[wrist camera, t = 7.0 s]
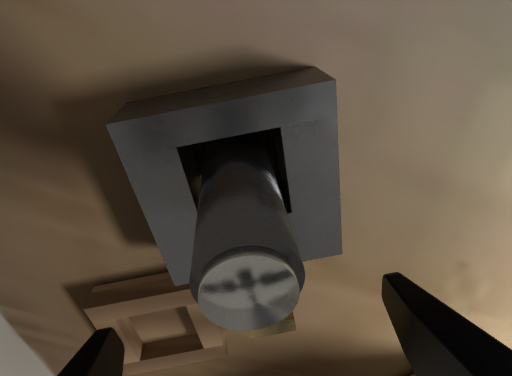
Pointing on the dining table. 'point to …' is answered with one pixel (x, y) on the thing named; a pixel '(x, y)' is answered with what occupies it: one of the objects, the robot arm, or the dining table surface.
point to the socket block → (227, 125)
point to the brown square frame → (155, 323)
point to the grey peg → (243, 239)
